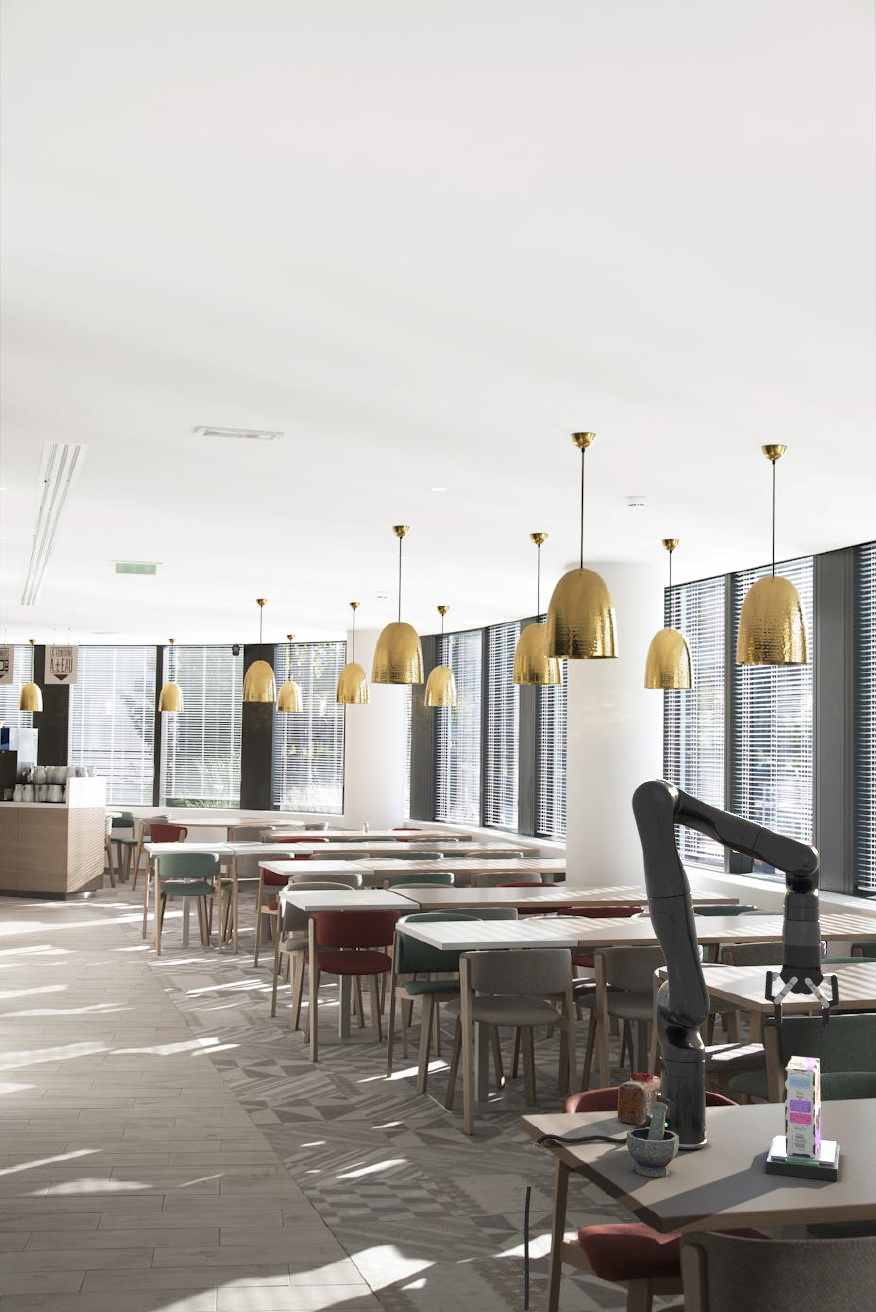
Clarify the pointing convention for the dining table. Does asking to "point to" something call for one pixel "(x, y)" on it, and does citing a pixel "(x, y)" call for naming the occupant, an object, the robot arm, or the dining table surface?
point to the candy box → (802, 1107)
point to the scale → (804, 1161)
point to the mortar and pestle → (653, 1145)
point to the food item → (637, 1098)
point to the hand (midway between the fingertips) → (802, 1024)
